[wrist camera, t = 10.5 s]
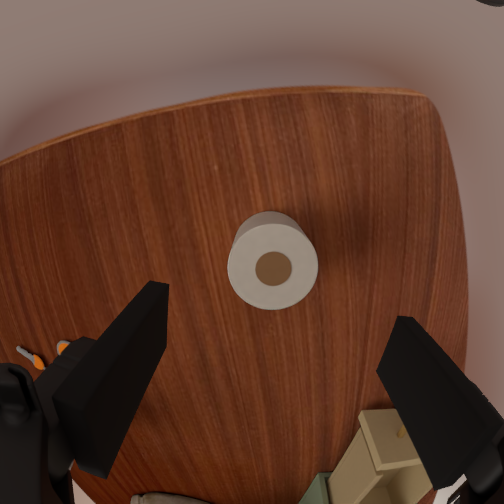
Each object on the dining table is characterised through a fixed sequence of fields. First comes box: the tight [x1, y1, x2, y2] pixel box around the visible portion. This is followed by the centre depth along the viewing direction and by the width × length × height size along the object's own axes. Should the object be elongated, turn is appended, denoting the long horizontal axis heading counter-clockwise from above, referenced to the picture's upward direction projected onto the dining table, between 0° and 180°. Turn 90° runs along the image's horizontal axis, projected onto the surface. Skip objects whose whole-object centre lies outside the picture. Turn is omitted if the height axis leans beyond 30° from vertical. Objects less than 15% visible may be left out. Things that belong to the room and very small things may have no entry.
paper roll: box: [227, 211, 318, 310], centre depth 21 cm, size 6×6×6 cm
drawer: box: [325, 409, 433, 504], centre depth 25 cm, size 24×12×8 cm, turn 171°
